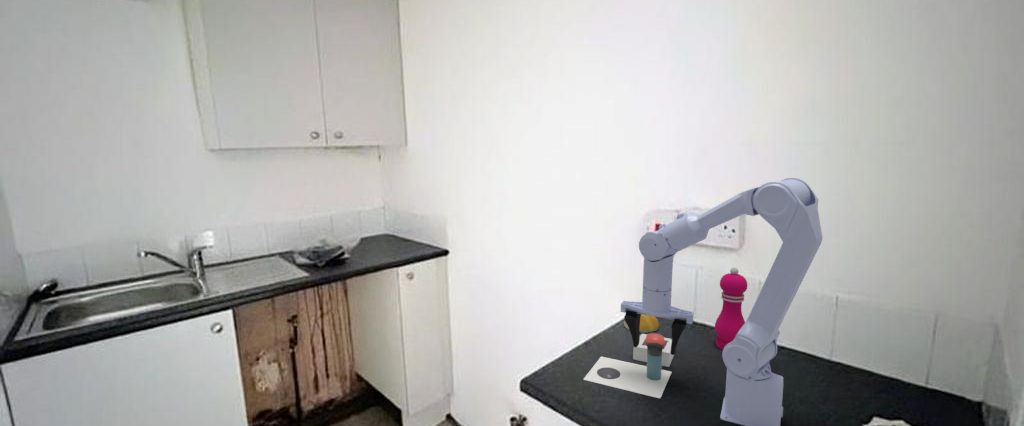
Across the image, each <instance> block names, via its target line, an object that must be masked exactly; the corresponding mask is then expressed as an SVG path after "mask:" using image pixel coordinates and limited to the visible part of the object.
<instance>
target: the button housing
mask: <svg viewBox="0 0 1024 426" xmlns="http://www.w3.org/2000/svg"><path fill="white" fill-rule="evenodd" d="M647 334H648V333H640V340H639V345H638V346H637V347H634V345H633V349H632V350H633V351H632V352H633V353H632V354H633V355H632V359H633V360H635V361H640V362H643V363H647V346H646V335H647ZM671 344H672V338H669V337H664V349H662V367H667V368H670V365H671V363H672V361H673V359H674V357H675V355H676V353H675V354H674V355H672V354H671Z"/></svg>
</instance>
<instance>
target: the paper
mask: <svg viewBox="0 0 1024 426" xmlns="http://www.w3.org/2000/svg"><path fill="white" fill-rule="evenodd" d="M672 372H673V371H670V370H666V369H661V379H660V380H651V379H649V378H647V365H643V364H638V363H635V362H634V363H633V362H628V361H623V360H620V359H614V358H610V357H605V356H600V357H599V358H598V360H597V361H596V362H595V363H594V365H593V366H592V367H591V369H590V370H589V371H588V373H587V374H585V376H584V377H583V380H584V381H588V382H591V383H596V384H599V385H603V386H607V387H612V388H616V389H620V390H624V391H628V392H632V393H634V394H635V393H636V394H640V395H644V396H648V397H652V398H657V399H661V398H662V395H663V393H664V391H665V389H666V386H667V384H668V382H669V379H670V376H671V375H672Z"/></svg>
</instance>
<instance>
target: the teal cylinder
mask: <svg viewBox="0 0 1024 426" xmlns="http://www.w3.org/2000/svg"><path fill="white" fill-rule="evenodd" d="M662 349H663V346H662V345H660V344H658V343H649V344H648V345H647V362H646V366H647V378H649V379H651V380H660V379H661V370H662V368H663V366H662Z"/></svg>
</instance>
